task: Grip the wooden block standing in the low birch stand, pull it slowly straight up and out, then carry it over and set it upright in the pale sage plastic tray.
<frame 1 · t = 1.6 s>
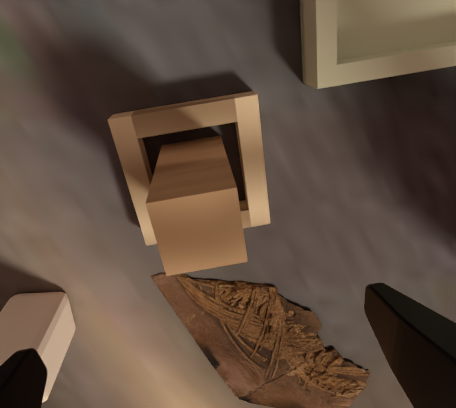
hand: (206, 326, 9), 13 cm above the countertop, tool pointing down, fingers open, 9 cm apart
pepper shaker: (47, 308, 25), on the countertop
birch stand: (196, 168, 21), on the countertop
wooden fragment: (267, 347, 29), on the countertop
wooden block: (197, 194, 17), in the birch stand
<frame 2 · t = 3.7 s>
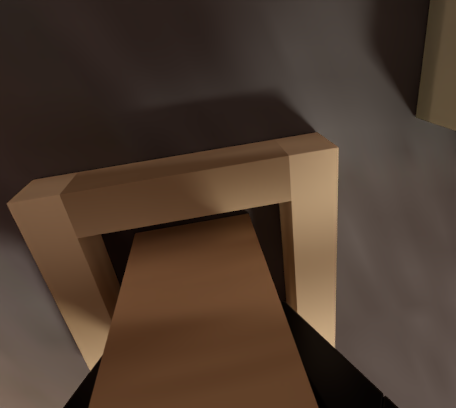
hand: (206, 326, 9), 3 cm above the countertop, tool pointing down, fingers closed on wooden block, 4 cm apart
birch stand: (201, 269, 11), on the countertop
wooden block: (209, 375, 8), in the birch stand, touching gripper
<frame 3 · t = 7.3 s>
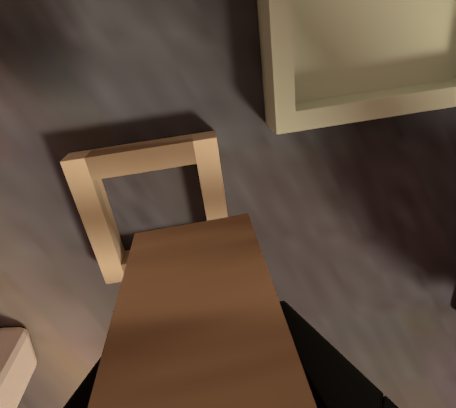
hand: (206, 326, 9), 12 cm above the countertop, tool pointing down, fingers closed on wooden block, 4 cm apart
pepper shaker: (7, 342, 24), on the countertop
birch stand: (158, 205, 20), on the countertop
wooden block: (208, 375, 8), point 13 cm above the countertop, touching gripper
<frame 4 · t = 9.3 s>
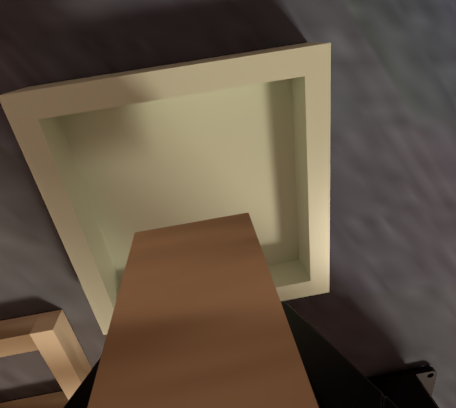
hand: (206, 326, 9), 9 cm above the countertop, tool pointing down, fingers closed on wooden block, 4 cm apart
birch stand: (21, 368, 21), on the countertop
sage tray: (195, 190, 17), on the countertop
wooden block: (209, 374, 8), point 10 cm above the countertop, touching gripper
when the fingers open (5 cm above the countertop, at t = 10.9 s): wooden block drops 1 cm, resting on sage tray.
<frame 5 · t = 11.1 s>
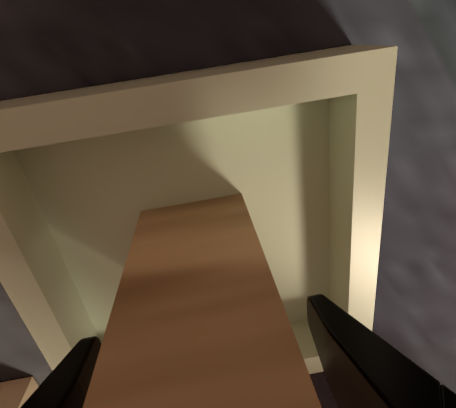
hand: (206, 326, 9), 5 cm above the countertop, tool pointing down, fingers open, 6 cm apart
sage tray: (199, 235, 13), on the countertop
wooden block: (205, 324, 9), in the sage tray, point 5 cm above the countertop
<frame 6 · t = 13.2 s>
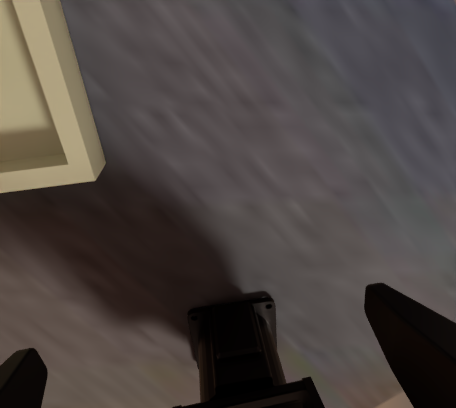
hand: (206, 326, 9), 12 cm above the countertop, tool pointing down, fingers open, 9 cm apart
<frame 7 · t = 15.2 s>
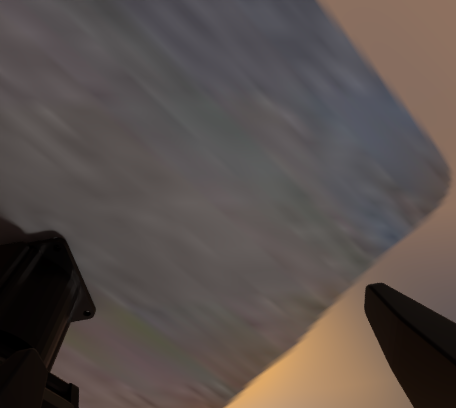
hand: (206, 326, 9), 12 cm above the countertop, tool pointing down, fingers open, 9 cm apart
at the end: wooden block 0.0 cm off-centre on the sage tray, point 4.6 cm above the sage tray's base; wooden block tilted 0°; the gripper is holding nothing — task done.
